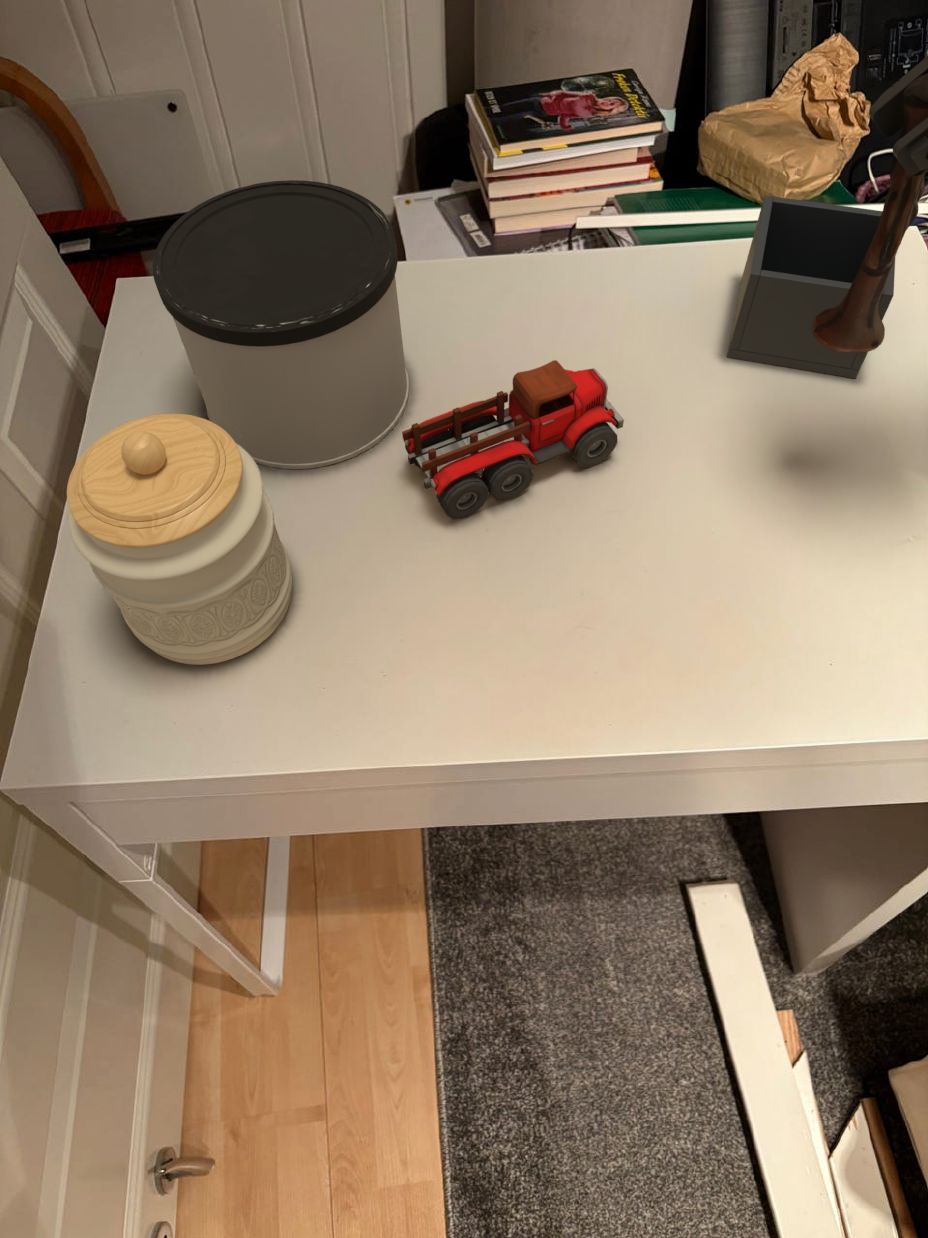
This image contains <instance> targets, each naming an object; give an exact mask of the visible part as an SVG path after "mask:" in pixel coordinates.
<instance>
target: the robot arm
mask: <svg viewBox="0 0 928 1238" xmlns="http://www.w3.org/2000/svg"><path fill="white" fill-rule="evenodd" d="M925 29H926V30H925V31H926V32H927V33H928V23H927V24H926V27H925ZM927 73H928V49H927V51H926V56H925V57H923V59H922V60H921V61H920V62H919V63H918V64H916V65H915V66H914V67H913V68H912V69H910V70H909V71H908V72H907V73H906V74H904V75H903V76H901V78H899V80H898V81H896V82H895V83H894V84H892V86H890V87H889V88H887V89H886V90H885V91H884V92H883V93H881V95H880V96H879V98H878V99H877V100H875V102H874V103H873V104H872V105H871V106H870V107H869V109H868V116H869V117H870V119H871V121H872V122H873V123H874V125H875V126H876V127H877V129H878V130H879V132H880V134H881V135H882V136H883V137H884V138H889V137H892V136H893V135H895V134H896V133H897V132H898V131H900V130H901V129H903V126H904V123H905V112H904V107H903V103H902V101H903V93H904V90H905V89H906V87H907V86H908V85H909V84H910V83H912V82H913V81H915V80H916V79H917V78H919V77H921V76H923V75H925V74H927ZM898 140H899V139H898ZM898 140H897V141H896V142H895V144H893V146H892V154H894V155H895V156H896V158H897V159H898V161H899V162H900V164H901V165H902V167H903V168H904V170H905V171H906V173H907V174H909V175H913V174H916V173H918V172H919V171H920V170H921V171H922V170H924V169H926V168H927V169H928V117H927V118H926V119H925V120H924V121H922V122H921V123H920V124H919V125H917V126H916V127H915V128H914V129H912V130H911V131H910V132H909V133H907V134H906V135H905V136H904V137H902V138H901V139H900V140H899V141H898Z"/></svg>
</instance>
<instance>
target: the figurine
mask: <svg viewBox="0 0 928 1238" xmlns="http://www.w3.org/2000/svg"><path fill="white" fill-rule="evenodd" d="M902 103H903V107H904V112H905V123H904V126H903V127H902V130H901V132H900V135H899V138H898V140H897V141H899V140H900V139H901V138H902V137H904V136H905V135H906V134H907V133H909V132H910V131H911V130H912V129H914V128H915V127H916V126H917V125H919V124H920V123H921V122H922V121H924V120H925V119H926V118H927V117H928V73H927V74H925V75H923V76H921V77H919V78H917V79H916V80H915V81H913V82H912V83H910V84H909V85H908V86H907V87H906V89H905V90H904V93H903V101H902ZM891 158H892V159H891V161H890V166H889V181H890V186H889V189H888V192H887V194H886V198H885V200H884V203H883V208H882V211H883V212H882V215H881V218H880V220H879V223H878V226H877V230H876V232H875V235H874V237H873V240H872V242H871V244H870V247H869V249H868V251H867V253H866V256H865V258H864V260H863V263H862V265H861V267H860V269H859V271H858V273H857V275H856V277H855V279H854V280H853V283H852V285H851V287H850V289H849V291H848V293H847V295H846V296H845V298H844V299H843V301H842V302H841V303H840V304H839V305H838V306H837V307H833V308H829V309H826V310H824V311H822V312H821V313H819V314H818V315H817V316H816V317H815V319H814V321H813V325H812V333H813V336H814V337H815V338H816V339H817V341H819V342H818V343H820V344H821V345H823V346H825V347H827V348H829V349H831V350H834V351H839V352H853V351H854V352H861V351H862V352H867V351H868V352H871V351H874V350H876V349H877V348H879V347H880V346H881V345H882V343H883V342H884V339H885V332H886V329H885V325H884V322H883V320H881V319H880V317H879V313H878V306H879V300H880V297H881V294H882V292H883V289H884V287H885V284H886V282H887V279H888V276H889V274H890V271H891V268H892V265H893V262H894V259H895V260H896V256H897V254H898V250H899V248H900V246H901V244H902V241H903V238H904V236H905V234H906V232H907V230H908V229H909V228H910V226H911V225H912V224H913V223H914V221H915V220H916V218H917V216H918V214H919V203H918V202H919V201H920V200H921V199H922V196H923V195H924V194H925V193H924V192H925V190H926V179H925V175H926V173H927V170H928V168H926V169H924V170H922V171H921V170H920V171H919V172H918V173H916V174H913V175H909V174H907V173H906V171H905V170H904V168H903V167H902V165H901V164H900V162H899V161H898V159H897V158H896V156H895V155H894V153H892V157H891Z"/></svg>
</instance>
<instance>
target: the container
mask: <svg viewBox="0 0 928 1238" xmlns="http://www.w3.org/2000/svg"><path fill="white" fill-rule="evenodd" d="M397 247H398V246H397V238H396V233H395V230H394V228H393V226H392V222H391V220H389V218H388V217H387V215H386V213H385V212H384V211H383V210H382V209H381V208H380V207H378V206H377V205H376V204H375V203H374V202H373V201H371V200H370V199H368V198H367V197H365V196H363V195H361V194H360V193H358V192H355V191H353V190H351V189H348V188H345V187H342V186H338V185H335V184H331V183H325V182H321V181H312V180H295V179H294V180H292V179H289V180H287V179H286V180H273V181H265V182H264V181H263V182H259V183H253V184H249V185H246V186H241V187H238V188H234V189H230V190H228V191H225V192H222V193H220V194H217V195H215V196H213V197H211V198H208V199H206V200H205V201H203V202H201V203H199V204H198V205H196V206H195V207H193V208H191V209H190V210H189V211H187V212H186V213H184V214H182V216H180V217H179V218H177V220H176V221H175V222H174V223H172V225H170V227H169V228H168V230H167V231H166V232H165V233H164V235H163V236H162V238H161V239H160V241H159V243H158V245H157V247H156V249H155V252H154V255H153V260H152V276H153V280H154V281H153V282H154V284H155V287H156V289H157V293H158V295H159V298H160V299H161V302H162V304H163V306H164V307H165V309H166V311H167V312H168V313H169V314H170V315H171V317H172V318H173V321H174V325H175V327H176V330H177V332H178V335H179V337H180V340H181V342H182V346H183V348H184V351H185V353H186V356H187V359H188V361H189V364H190V367H191V368H192V372H193V375H194V377H195V380H196V383H197V385H198V388H199V390H200V394H201V395H202V398H203V401H204V404H205V407H206V413H207V417H208V421H211V422H213V423H215V424H216V425H218V426H220V427H221V428H222V429H224V430H225V431H226V432H227V433H228V434H229V435H230V436H231V437H232V439H233V440H234V441H235V443H237V444H238V445H240V446H241V447H242V448H243V449H245V450H246V451H247V452H248V453H249V454H250V456H251V457H252V458H253V459H254V461H255V462H256V464H259V465H262V466H266V467H270V468H271V467H272V468H277V469H284V470H285V469H286V470H287V469H289V470H303V469H304V470H305V469H314V468H315V469H316V468H322V467H327V466H331V465H334V464H339V463H341V462H344V461H346V460H349V459H352V458H354V457H356V456H358V455H360V454H362V453H364V452H366V451H368V450H369V449H371V448H372V447H374V446H375V445H377V444H378V443H380V442H381V441H382V440H383V439H384V438H385V437H386V436H387V435H389V433H390V432H391V431H392V430H393V429H395V426H396V425H397V424H398V422H399V421H400V419H401V418H402V416H403V414H404V412H405V410H406V408H407V405H408V404H407V403H408V400H409V396H410V383H409V382H410V381H409V374H408V371H407V368H406V363H405V354H404V352H405V351H404V345H403V336H402V325H401V316H400V308H399V307H400V306H399V299H398V297H399V296H398V288H397V280H396V273H397V270H398V269H397V268H398V248H397Z"/></svg>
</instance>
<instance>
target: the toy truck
mask: <svg viewBox="0 0 928 1238" xmlns="http://www.w3.org/2000/svg"><path fill="white" fill-rule="evenodd" d="M608 391H609V385H608V382H607V381H606V379H605V378H604V377H603V376H602V375H601V373H600V372H599V370H597V368H589V369H581V370H576V371H575V370H570V369H565V368H564V367H563V366H562V364H561V363H560V362H559V361H558V360H556V359H554V360H551V361H550V362H548V363H545V364H544V365H541V366H539V367H535V368H532V369H529V370H524V371H519V372H516V373H515V374H514V375H513V377H512V390H510V392H509V393H508V392H504V391H503V390H500V391H498V392H496V396H493V397H490V398H487V399H484V400H483V399H482V400H478V401H474V402H470V403H469V404H466V405H463V406H460V407H456V408H453V409H452V410H449V411H447V412H445V413H442V414H439V415H437V416H434V417H432V418H428V419H426V420H423V421H422V422H420V423H418V422H416V423H413V424H411V428H408V429H405V430H403V431H401V434H402V440H403V443H404V448H405V451H406V453H407V461H408V463H409V466H412V465H414V466H415V467H417V468H418V469H420V470H421V471H422V473H423V475H424V477H426V478H424V479H423V480H422V482H423V487H424V489H425V491H427V490H429V489H432V488H433V490H434V491H435V493H436V494H435V498H436V500H437V502H438V504H439V505H440V507H441V508H442V511H444V514H446V516H447V517H448V518H450V519H451V520H462V519H467V518H469V517H470V516H473V515H475V514H476V513H477V512H478V511H480V510H481V509H482V508H483V507H484V506H485V504H486V502H487V501H488V499H489V495H490V496H491V498H493V500H495V501H496V502H506V501H510V500H513V499H515V498H517V497H518V496H520V495H522V494H523V493H524V492H525V491H526V490H527V489H528V488H529V486H530V485H531V483H532V481H533V479H534V471H533V468H532V467H531V465H533V466H538V465H540V464H543V463H546V462H548V461H551V460H553V459H556V458H558V457H561V456H563V455H565V454H568V453H569V454H570V455H571V456H572V458H573V459H574V460H575V462H576V463H577V464H578V465H579V466H580V467H583V468H589V467H594V466H596V465H598V464H601V462H603V461H605V460H606V459H607V458H608V457H609V456H610V455H611V454H612V453H613V452H614V450H615V448H616V447H617V444H618V442H619V441H618V439H619V438H618V434H617V433H616V432H615V430H614V429H613V428H612V426H610V424H612V425H613V427H615V429H616V430H618V429H621V428H624V421H625V419H624V418H623V417H622V415H621V414H620V413H619V412H618V410H617V409H616V408H615V407H614V406H613V405H612V403H611V402H610V401H609V400H608ZM506 403H508V407H506V408H505V404H506ZM609 423H610V424H609ZM524 457H526V458H527V459H528V460H529V462H530V463H531V465H530V464H529V463H528V461H527V460H526V458H524ZM481 470H482V473H481V475H479V473H478V471H481Z"/></svg>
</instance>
